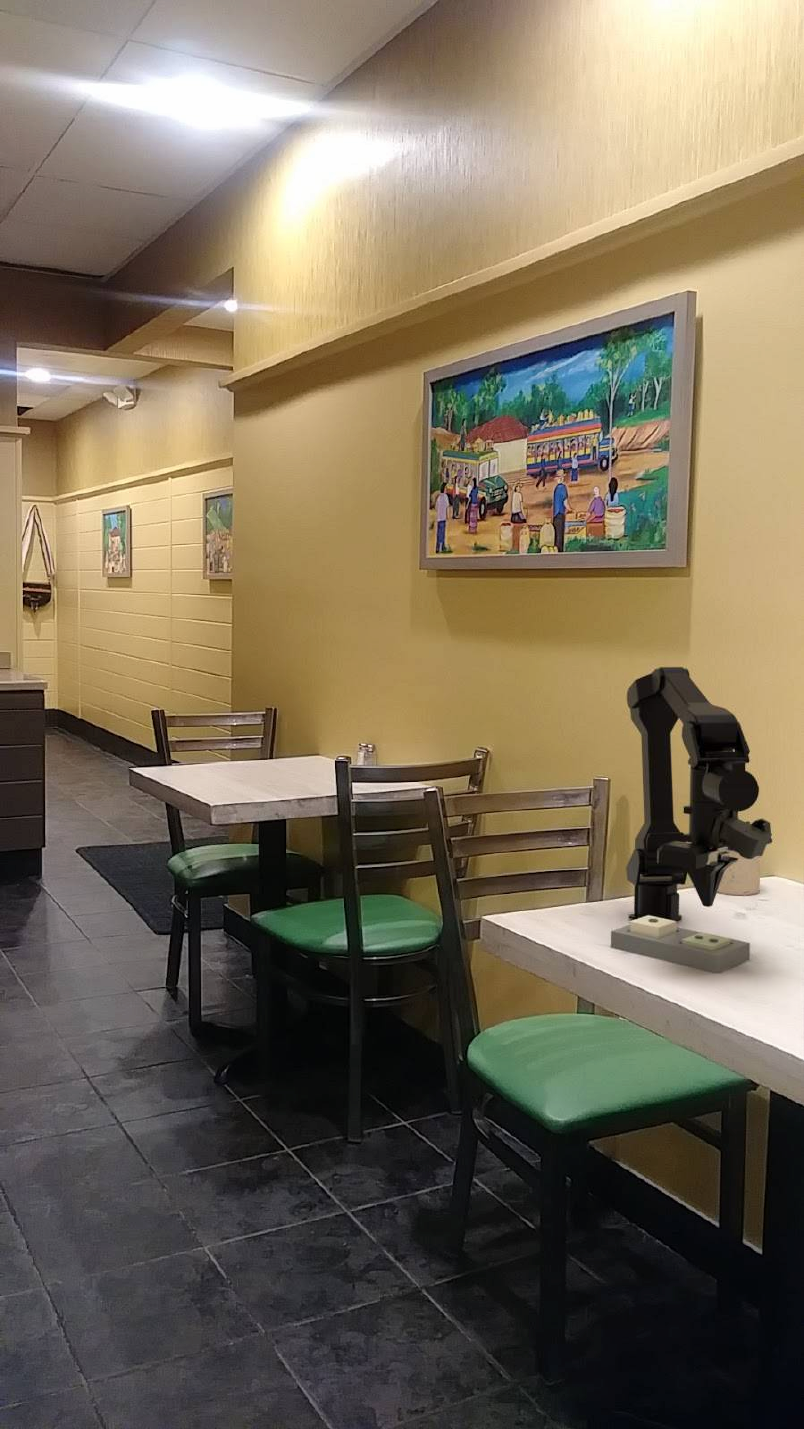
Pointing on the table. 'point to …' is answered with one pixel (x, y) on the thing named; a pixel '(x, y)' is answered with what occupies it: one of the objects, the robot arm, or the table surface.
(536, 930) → the table surface
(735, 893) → the teacup with lid
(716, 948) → the sage tile two
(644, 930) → the cream tile one
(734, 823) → the robot arm
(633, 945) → the panel
